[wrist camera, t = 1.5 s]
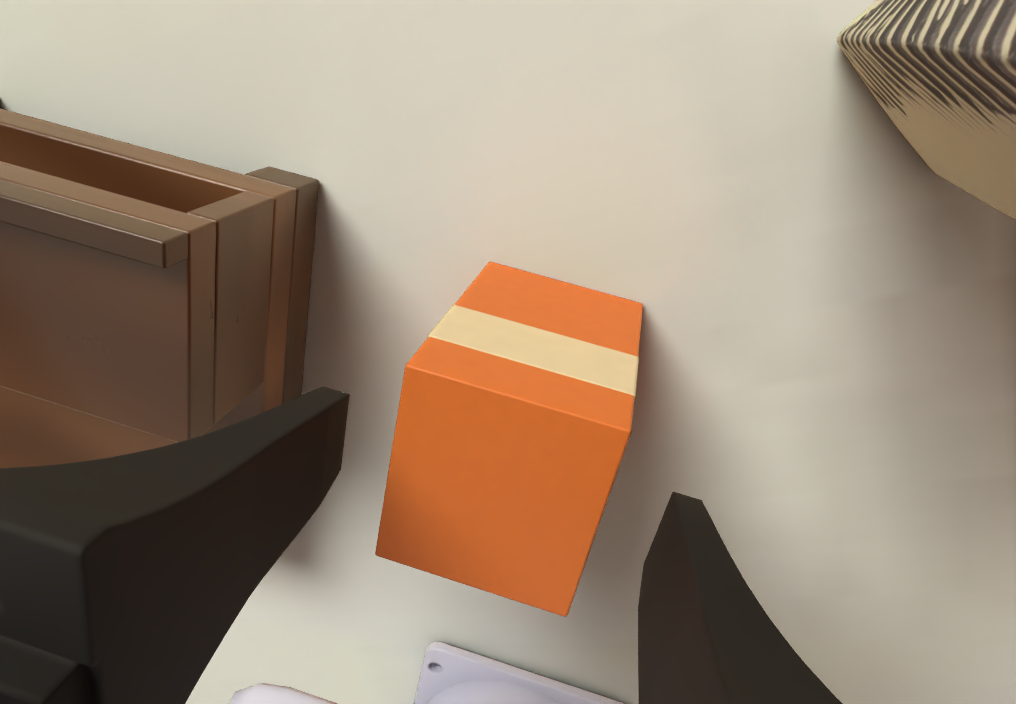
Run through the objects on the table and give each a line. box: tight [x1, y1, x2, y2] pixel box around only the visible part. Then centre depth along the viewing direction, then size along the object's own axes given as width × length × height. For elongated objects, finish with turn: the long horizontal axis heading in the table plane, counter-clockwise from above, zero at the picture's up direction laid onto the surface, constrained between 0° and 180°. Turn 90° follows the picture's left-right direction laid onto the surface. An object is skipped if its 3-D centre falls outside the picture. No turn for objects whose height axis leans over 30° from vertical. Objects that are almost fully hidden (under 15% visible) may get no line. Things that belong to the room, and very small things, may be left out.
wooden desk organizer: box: [0, 109, 319, 468], centre depth 20 cm, size 13×12×7 cm
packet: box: [375, 262, 643, 617], centre depth 17 cm, size 5×4×7 cm
